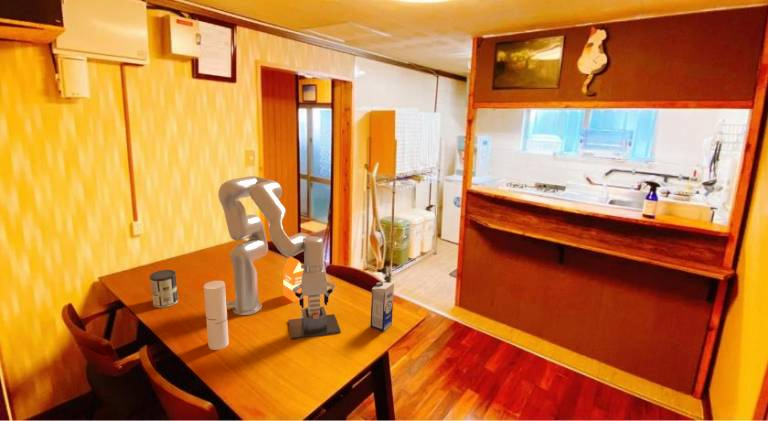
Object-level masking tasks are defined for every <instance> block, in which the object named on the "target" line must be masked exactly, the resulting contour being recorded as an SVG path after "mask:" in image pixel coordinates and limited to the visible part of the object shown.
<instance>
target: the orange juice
mask: <svg viewBox="0 0 768 421" xmlns="http://www.w3.org/2000/svg"><path fill="white" fill-rule="evenodd" d="M301 265H303V264H302V263H301V262H300V260H299V259H296V258H294V256H293V257H288V259H287V261H286V263H285V264H284V266H283V269H282V272H283V274H282V275H283V276H282V278H283V282H282V284H283V297H285V298H286V299H288V300H290V301H291V302H292V303H295V302H297V301H299V298H298V297H297V296H296V295H295V294H294V292H293V290H292V289H293V288H294V287H296V286H298V285H299V284H301V281H302V273H303V270H304V269H301ZM301 291H302V290H301V288H300V289H299V290H297V292H298V293H301ZM304 299H308V296H304V297H303V300H304Z"/></svg>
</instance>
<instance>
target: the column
mask: <svg viewBox="0 0 768 421" xmlns="http://www.w3.org/2000/svg"><path fill="white" fill-rule="evenodd" d="M320 307H321V294H319V295H310V296H307V308H308V317H312V313H318V314H319V316H320Z"/></svg>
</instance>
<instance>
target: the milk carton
mask: <svg viewBox="0 0 768 421" xmlns="http://www.w3.org/2000/svg"><path fill="white" fill-rule="evenodd" d="M375 284H376V285H375V286H373V287H372V288H371V303H370V304H371V307H370V325H369V326H370V328H373V329H375V330H378V331H380V332H383V333H384V332H386V330H388V329H389V328H390V327H391V326H392V325H393V309H394V293H395V283H394V282H383V281H380V282H376V283H375Z"/></svg>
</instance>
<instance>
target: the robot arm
mask: <svg viewBox="0 0 768 421" xmlns="http://www.w3.org/2000/svg"><path fill="white" fill-rule="evenodd" d="M218 189H219V190H218V199H219V200H218V201H219V202H220V204H221V205H220V206H221V207H222V209H223V210H222V211H223V213H224V217H225V223H226V226H227V230H228V234H229V237H230V238H231V240H233V241H236V242H237V241H238V242H239V241H243V240H245V239H248V240H245V241H243V242H241V243H238V244H237V245H235V246H233V248H232V249H231V251H230V259H231V263H232V268H233V275H234V276H233V277H234V293H235V297H234V299H233V300H232V301H226V307H227V308H228V309H229V308H232V312H233V313H234V314H235V315H239V316H251V315H253V314H257V313H258V312H260V311H261V309H262V307H263V304H262V303H261V301H259V291H258V290H259V289H258V271H257V268H256V267H255V265H254V262H255V261H257V260H259V259H261V258H263V257H265V256H266V255H267V254H268V252H269V245H268V244H269V243H268V240H267V235H266V231H265V226H264V223H263V221H262V219H261V218H260V217H259V216H258V215H256V214H247V212H246V208H245V206H244V204H243V202H242V201H240V199H242V198H243V199H244V198H247V197H250V198H251V199H252V201H253V202H254V204H255V205H256V206H257V207H258V208H257V209H259V211H260V212H261V213H262V214H263V216H264V218H265V219H266V220H267V222H268V233H269V237H270V239H271V241H272V244H273V245H274V246H275V247H276V248H277V250H278V251H279V253H280V254H281V255H283V256H285V258H286V257H287V258H289V257H293V258H294V257H295V256H297V255H299V254H300V253H303V252H304V255H303V256H304V258H303V259H304V260H303V261H304V262H303V264H302V265H301V269H304V270H303V273H302V281H301V284H299V285H298V286H296V287H294V288H293V289H292V290H293V292H294V294H295V295H296V296H297V297H298V298H299V300H298V301H299V306H301V307H300V308H301V309H305V307H304V305H305V304H304V299H303V297H304V296H307V297H308V296H310V295H323V303H324V306H327V305H328V303H329V297H330V295H331V294H332V292H333V291H334V290H335V287H336V285H335V283H332V282H330V281H328V280H327V274H326V273H327V272H326V269H325V268H324V240H323V238H322V237H320V236H312V235H310V234H309V233H305V232H298V233H296V234H293V235H291V236H288V235H287V233H286V232H285V230H284V227H283V224H282V223H283V219H284V217H285V216H286V213H287V209H286V207H285V206H284V205H283V203H282V202H281V201H280V200H279V199H280V198H281V197H282V195H283V188H282V186H281V185H280V183H278V182H277V181H276V180H272V179H268V178H264V177H259V176H254V175H250V176H249V175H248V176H244V177H238V178H233V179H229V180H227V181H225V182H223V183H222V184H221V185H220V187H219V188H218ZM328 287H329V289H328ZM300 288H301V290H302V291H301V293H298V292H297V290H299V289H300Z"/></svg>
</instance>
